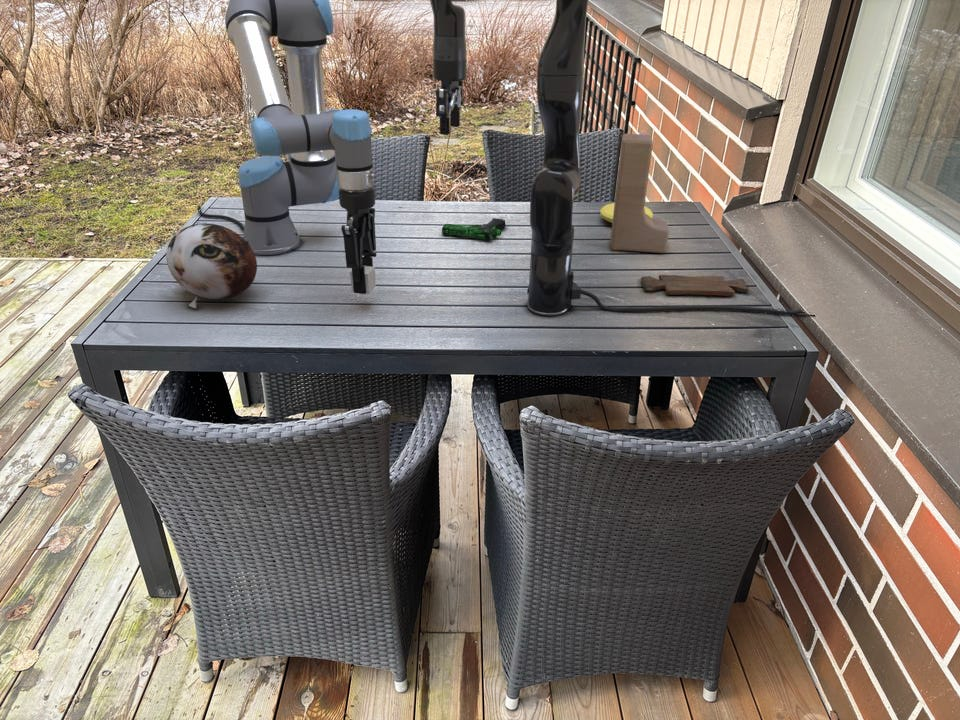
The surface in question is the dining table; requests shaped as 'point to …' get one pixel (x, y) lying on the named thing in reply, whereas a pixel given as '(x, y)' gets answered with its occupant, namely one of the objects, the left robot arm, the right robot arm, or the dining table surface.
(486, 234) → the handgun
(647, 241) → the decorative block
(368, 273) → the block
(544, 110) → the right robot arm
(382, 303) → the dining table surface
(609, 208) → the yellow rounded disc
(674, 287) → the dark wooden board
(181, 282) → the cat face balloon
